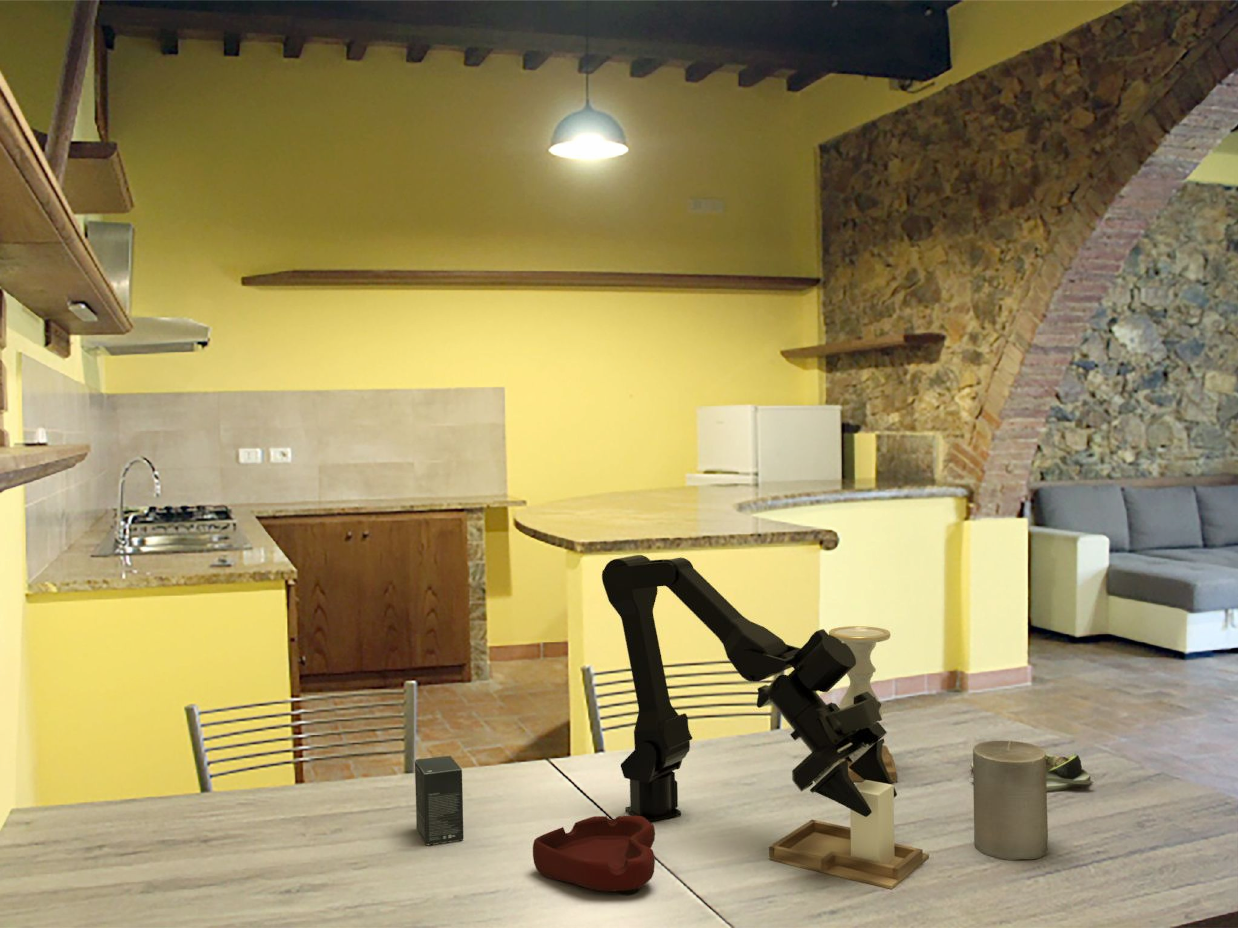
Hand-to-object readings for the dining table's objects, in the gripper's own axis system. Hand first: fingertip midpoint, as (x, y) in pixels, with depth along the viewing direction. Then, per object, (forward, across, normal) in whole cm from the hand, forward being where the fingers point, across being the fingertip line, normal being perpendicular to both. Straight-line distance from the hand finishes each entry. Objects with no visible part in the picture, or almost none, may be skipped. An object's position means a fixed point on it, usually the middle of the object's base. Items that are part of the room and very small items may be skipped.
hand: (882, 805), depth 153 cm
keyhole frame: (+2, 0, +9) cm, 9 cm away
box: (-35, -24, +48) cm, 64 cm away
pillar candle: (+14, +16, -2) cm, 21 cm away
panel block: (+4, 0, +6) cm, 8 cm away
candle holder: (-8, +36, +20) cm, 42 cm away
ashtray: (-16, -23, +28) cm, 39 cm away
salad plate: (+10, +49, +2) cm, 50 cm away
